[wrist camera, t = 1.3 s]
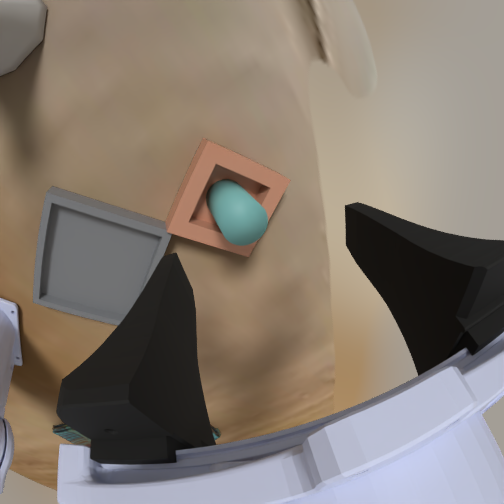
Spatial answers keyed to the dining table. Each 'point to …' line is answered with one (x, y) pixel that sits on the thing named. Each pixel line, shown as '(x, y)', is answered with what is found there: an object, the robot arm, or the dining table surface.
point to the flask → (19, 31)
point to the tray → (94, 256)
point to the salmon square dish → (203, 177)
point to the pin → (236, 212)
